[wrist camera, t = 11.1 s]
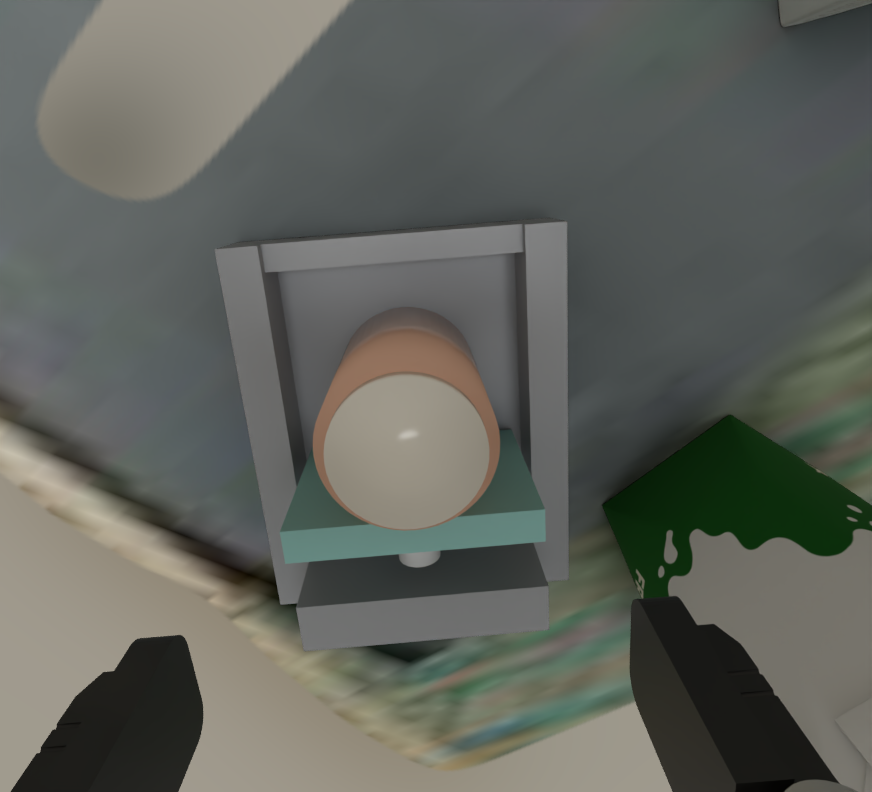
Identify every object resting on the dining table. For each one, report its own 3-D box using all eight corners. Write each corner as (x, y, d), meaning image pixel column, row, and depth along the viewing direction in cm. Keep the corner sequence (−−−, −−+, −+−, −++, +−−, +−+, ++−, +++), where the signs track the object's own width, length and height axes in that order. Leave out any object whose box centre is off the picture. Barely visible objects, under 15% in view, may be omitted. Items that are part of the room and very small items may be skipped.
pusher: (511, 429, 26) (545, 509, 20) (513, 495, 27) (546, 592, 21) (312, 445, 26) (279, 531, 20) (322, 511, 27) (294, 614, 21)
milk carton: (827, 517, 30) (1574, 1103, 11) (670, 620, 31) (1076, 1291, 12) (736, 385, 27) (1487, 835, 8) (571, 504, 29) (883, 1111, 10)
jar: (470, 301, 25) (498, 355, 17) (477, 428, 27) (506, 532, 19) (333, 312, 25) (295, 372, 17) (350, 439, 27) (323, 548, 19)
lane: (549, 217, 25) (590, 225, 19) (553, 541, 29) (587, 626, 24) (237, 242, 24) (184, 258, 19) (293, 564, 29) (264, 654, 23)
